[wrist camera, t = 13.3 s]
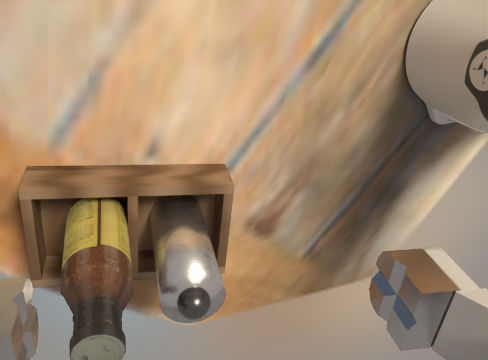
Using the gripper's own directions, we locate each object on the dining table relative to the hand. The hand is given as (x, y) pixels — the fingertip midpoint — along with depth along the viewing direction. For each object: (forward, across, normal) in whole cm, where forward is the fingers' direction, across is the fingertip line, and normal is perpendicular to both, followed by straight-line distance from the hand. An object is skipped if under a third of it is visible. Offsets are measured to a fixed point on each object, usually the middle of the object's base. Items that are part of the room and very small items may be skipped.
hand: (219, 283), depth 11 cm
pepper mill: (+38, -3, +22) cm, 44 cm away
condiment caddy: (+38, +2, +22) cm, 44 cm away
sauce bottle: (+37, +6, +22) cm, 43 cm away
